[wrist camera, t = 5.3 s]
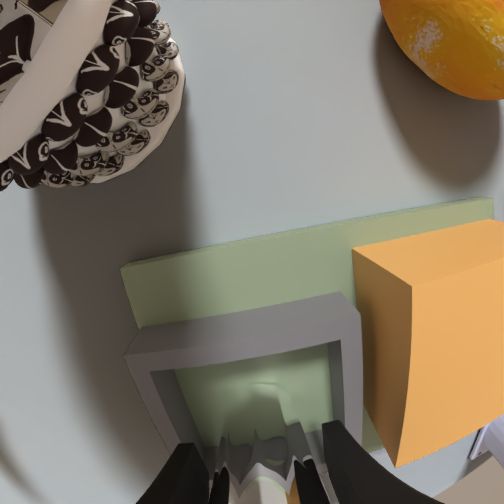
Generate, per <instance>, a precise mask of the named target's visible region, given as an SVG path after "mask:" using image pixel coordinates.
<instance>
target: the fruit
mask: <svg viewBox="0 0 504 504" xmlns="http://www.w3.org/2000/svg"><path fill="white" fill-rule="evenodd" d="M379 1H380V6H381V10H382V13H383V16H384V18H385V20H386V22H387V25H388V27H389V29H390V31H391V33H392V34H393V36H394V38H395V40H396V42H397V43H398V45H399V46H400V48H401V49H402V51H403V52H404V53H405V54H406V55H407V56H408V58H409V59H410V60H411V61H413V62H414V63H415V64H416V65H417V66H418V67H419V68H420V69H421V70H422V71H423V72H424V73H425V74H426V75H427V76H428V77H430V78H431V79H432V80H434V81H435V82H436V83H438V84H439V85H441V86H443V87H445V88H446V89H448V90H450V91H452V92H454V93H456V94H459V95H462V96H465V97H469V98H472V99H477V100H489V101H490V100H501V99H504V0H379Z"/></svg>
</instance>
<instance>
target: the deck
mask: <svg viewBox="0 0 504 504" xmlns="http://www.w3.org/2000/svg"><path fill="white" fill-rule="evenodd" d="M120 272H121V276H122V279H123V283H124V286H125V289H126V293H127V296H128V299H129V302H130V306H131V309H132V312H133V315H134V318H135V321H136V324H137V327H138V330H139V332H138V333H137V335H136V336H135V338H134V339H133V341H132V342H131V344H130V345H129V347H128V348H127V350H126V351H125V353H124V354H123V357H124V359H125V362H126V364H127V367H128V369H129V371H130V374H131V376H132V378H133V381H134V383H135V385H136V387H137V390H138V392H139V394H140V396H141V398H142V400H143V403H144V405H145V407H146V409H147V411H148V413H149V415H150V417H151V419H152V421H153V423H154V425H155V427H156V429H157V431H158V433H159V435H160V437H161V438H162V440H163V442H164V444H165V446H166V448H167V449H168V451H169V453H170V455H171V454H172V453H173V451H174V449H175V448H176V446H177V445H178V444H179V443H194V444H195V446H196V448H197V450H198V452H199V454H200V456H201V458H202V460H203V462H204V464H205V466H206V468H207V470H208V472H209V488H212V484H213V478H214V472H215V467H216V461H217V455H218V450H219V444H220V439H221V433H222V428H223V422H224V417H225V411H226V407H227V405H228V403H229V401H230V399H231V398H232V396H233V394H234V392H235V391H238V390H240V389H242V388H244V387H247V386H249V385H251V384H253V383H257V384H276V385H277V386H279V387H280V388H282V389H283V390H285V391H286V392H288V393H289V394H291V396H292V398H293V401H294V404H295V407H296V410H297V413H298V416H299V419H300V422H301V425H302V427H303V430H304V433H305V436H306V439H307V442H308V445H309V448H310V451H311V453H312V456H313V459H314V462H315V465H316V467H317V470H318V472H319V474H320V473H324V472H328V469H327V465H326V461H325V457H324V446H323V434H322V423H326V422H330V421H334V420H340V421H341V422H342V424H343V425H344V426H345V428H346V429H347V430H348V432H349V433H350V434H351V435H352V437H353V438H354V439H355V440H356V441H357V442H358V443H359V444H360V446H361V447H362V448H363V449H364V450H365V451H366V452H367V453H369V452H372V451H375V450H378V449H381V448H384V447H385V449H386V451H387V453H388V455H389V457H390V459H391V461H392V463H393V465H394V467H395V468H397V467H399V466H402V465H405V464H407V463H410V462H412V461H415V460H417V459H419V458H422V457H424V456H426V455H429V454H431V453H433V452H435V451H437V450H440V449H442V448H444V447H446V446H448V445H450V444H452V443H454V442H456V441H458V440H460V439H462V438H464V437H465V436H467V435H469V434H471V433H473V432H475V431H476V430H478V429H480V428H482V427H483V426H485V425H487V424H488V423H490V422H492V421H493V420H495V419H497V418H498V417H500V416H501V415H503V414H504V222H501V221H497V220H494V203H493V198H488V197H476V198H470V199H464V200H458V201H452V202H447V203H441V204H435V205H429V206H423V207H418V208H412V209H406V210H400V211H395V212H389V213H384V214H378V215H372V216H367V217H361V218H356V219H350V220H345V221H339V222H334V223H329V224H323V225H318V226H312V227H307V228H302V229H296V230H291V231H286V232H281V233H275V234H270V235H265V236H260V237H255V238H249V239H244V240H239V241H234V242H229V243H224V244H219V245H214V246H209V247H204V248H199V249H194V250H189V251H184V252H179V253H174V254H169V255H164V256H159V257H154V258H149V259H144V260H139V261H135V262H130V263H127V264H125V265H124V266H123V267H121V268H120Z"/></svg>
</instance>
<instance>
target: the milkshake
mask: <svg viewBox="0 0 504 504" xmlns="http://www.w3.org/2000/svg"><path fill="white" fill-rule="evenodd" d="M208 504H331V502H330V499H329V497H328V494H327V492H326V489H325V487H324V484H323V482H322V480H321V477H320V475H319V472H318V470H317V467H316V465H315V462H314V459H313V456H312V453H311V451H310V448H309V445H308V442H307V439H306V436H305V433H304V430H303V427H302V425H301V422H300V419H299V416H298V413H297V410H296V407H295V404H294V401H293V398H292V396H291V394H289V393H288V392H286V391H285V390H283V389H282V388H280V387H279V386H277V385H276V384H257V383H253V384H251V385H249V386H247V387H244V388H242V389H240V390H238V391H235V392H234V394H233V396H232V398H231V399H230V401H229V403H228V405H227V407H226V411H225V417H224V422H223V428H222V433H221V439H220V444H219V450H218V455H217V461H216V467H215V472H214V478H213V484H212V489H211V494H210V498H209V503H208Z"/></svg>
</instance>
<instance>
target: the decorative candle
mask: <svg viewBox="0 0 504 504" xmlns="http://www.w3.org/2000/svg"><path fill="white" fill-rule="evenodd" d="M159 11H160V6H159V4H158V3H157V2H155V1H153V0H0V191H3V190H4V189H6V188H7V186H8V185H9V184H10V183H11V182H12V180H13V179H14V180H15V182H16V183H17V184H18V185H19V186H20V187H22V188H26V189H31V188H34V187H36V186H39V185H41V184H43V183H44V184H46V185H47V186H50V187H54V188H64V187H66V186H69V185H72V186H78V187H81V186H85V185H88V184H89V183H102V182H104V181H107V180H109V179H111V178H114V177H116V176H118V175H121V174H123V173H126V172H128V171H131V170H133V169H134V168H135V167H136V166H137V165H138V164H139V163H140V162H141V161H143V160H144V159H145V158H146V157H147V156H148V155H149V154H150V153H151V152H152V151H153V150H154V149H156V148H157V147H158V146H159V145H160V144H161V143H162V141H163V139H164V137H165V136H166V134H167V132H168V130H169V128H170V126H171V125H172V123H173V121H174V119H175V117H176V116H177V114H178V112H179V110H180V106H181V99H182V93H183V86H184V80H185V72H184V68H183V65H182V61H181V58H180V55H179V50H178V46H177V45H176V43H175V42H174V41H173V40H172V39H171V38H170V35H171V32H170V29H169V25H168V23H167V22H166V21H164V20H155V21H154V19H155V17H156V15H157V14H158V13H159Z"/></svg>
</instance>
